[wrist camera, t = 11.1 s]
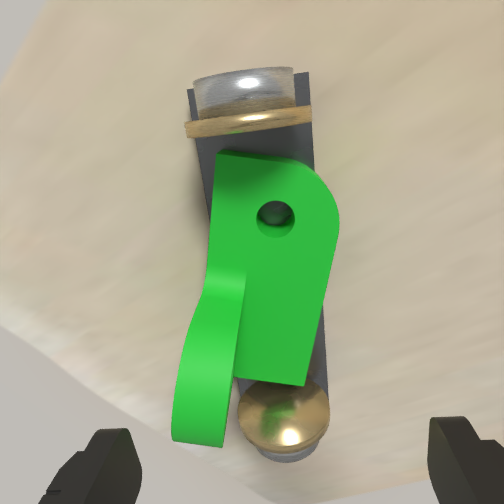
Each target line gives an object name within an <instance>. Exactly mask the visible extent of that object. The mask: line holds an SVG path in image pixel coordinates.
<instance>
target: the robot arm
mask: <svg viewBox="0 0 504 504" xmlns="http://www.w3.org/2000/svg"><path fill="white" fill-rule="evenodd" d="M427 462H428V470H429V475H430V479H431V483H432V486H433V489H434V491H435V493H436V496H437V499H438V501H439V503H440V504H504V447H502V446H501V445H500V444H499V443H498V442H497V441H495V440H480V438H479V437H478V435H477V434H476V432H475V430H474V429H473V427H472V425H471V424H470V422H469V421H468V420H467V418H465V417H464V416H456V417H432V418H431V419H430V425H429V441H428V457H427ZM141 481H142V468H141V464H140V461H139V458H138V455H137V452H136V449H135V446H134V443H133V440H132V438H131V435H130V432H129V430H128V429H126V428H118V429H100V430H98V431H97V432H95V434H94V435H93V437H92V438H91V440H90V442H89V444H88V446H87V447H86V449H85V451H77V452H76V454H74V455H73V456H72V457H71V458H70V459H69V460H68V461H67V462H66V463H65V464H64V465H63V466H62V467H61V468H60V469H59V471H58V473H57V474H56V476H55V477H54V479H53V481H52V482H51V484H50V485H49V487H48V489H47V490H46V494H45V495H43V497H42V498H41V500H40V502H39V503H38V504H135V502H136V499H137V496H138V494H139V491H140V487H141Z"/></svg>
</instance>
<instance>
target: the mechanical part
mask: <svg viewBox="0 0 504 504" xmlns="http://www.w3.org/2000/svg"><path fill="white" fill-rule="evenodd" d="M270 201H282V202H284V203H286V204H288V205H289V206H290V207H291V208H292V210H293V212H292V215H291V217H290V218H289V220H288V221H286V222H285V223H283V224H281V225H269V224H267V223H265V222H264V221H263V220H262V219H261V218H260V216H259V213H258V210H259V209H260V208H261V206H263V205H264V204H265V203H267V202H270ZM338 233H339V213H338V209H337V205H336V202H335V200H334V198H333V196H332V194H331V192H330V191H329V189H328V188H327V186H326V185H325V184H324V182H323V181H322V179H321V178H320V177H319V176H318V175H317V174H316V173H315V172H314V171H313V170H312V169H310V168H309V167H308V166H306V165H304V164H303V163H301V162H298V161H296V160H293V159H289V158H284V157H277V156H270V155H262V154H255V153H247V152H240V151H232V150H225V149H222V150H220V151H219V152H218V153H216V161H215V173H214V185H213V197H212V209H211V222H210V234H209V246H208V258H207V269H206V277H205V282H204V287H203V291H202V295H201V298H200V300H199V303H198V305H197V308H196V310H195V313H194V315H193V318H192V321H191V323H190V326H189V329H188V333H187V336H186V340H185V343H184V347H183V352H182V356H181V361H180V365H179V370H178V376H177V381H176V387H175V394H174V401H173V410H172V422H171V434H172V440H173V441H176V442H183V443H190V444H197V445H205V446H212V447H219V448H222V447H223V442H224V435H225V429H226V423H227V416H228V409H229V403H230V396H231V389H232V383H233V377H238V378H246V379H253V380H260V381H267V382H275V383H282V384H289V385H296V386H304V384H305V380H306V375H307V371H308V367H309V362H310V358H311V353H312V349H313V345H314V340H315V336H316V331H317V327H318V322H319V318H320V314H321V309H322V305H323V300H324V296H325V292H326V287H327V283H328V278H329V274H330V269H331V265H332V261H333V256H334V252H335V247H336V243H337V239H338Z"/></svg>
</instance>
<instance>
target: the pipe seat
mask: <svg viewBox="0 0 504 504" xmlns="http://www.w3.org/2000/svg"><path fill="white" fill-rule="evenodd" d="M193 87H194V89H187V93H188V99H189V105H190V110H191V116H192V121H189V122H184V124H185V129H186V135H187V138H195V139H196V144H197V150H198V156H199V162H200V167H201V173H202V179H203V184H204V190H205V196H206V201H207V207H208V213H209V219H210V222H211V209H212V197H213V185H214V173H215V161H216V153H218V152H219V151H220V150H222V149H225V150H232V151H240V152H247V153H255V154H262V155H270V156H277V157H284V158H289V159H293V160H296V161H298V162H301V163H303V164H304V165H306V166H308V167H309V168H310V169H312V170H313V171H314V172H315V170H314V153H313V137H312V111H311V104H310V88H309V72H304V73H297V74H293V68H292V67H267V68H256V69H248V70H240V71H234V72H228V73H222V74H217V75H212V76H208V77H204V78H201V79H198V80H195V81H193ZM292 212H293V210H292V208H291V207H290V206H289V205H288V204H286V203H284V202H282V201H270V202H267V203H265V204H264V205H263V206H261V208H260V209H259V210H258V213H259V216H260V218H261V219H262V220H263V221H264V222H265V223H267V224H269V225H281V224H283V223H285V222H286V221H288V220H289V218H290V217H291V215H292ZM237 378H238V377H237ZM238 384H239V389H240V395H241V399H240V401H239V405H238V418H239V423H240V427H241V430H242V432H243V434H244V436H245V437H246V438H247V440H248V441H249V442H250V443H252V444H253V445H254V446H256V448H257V449H258V451H259V452H260V453H261V454H262V455H264V456H265V457H267V458H268V459H271V460H273V461H276V462H282V463H289V462H295V461H299V460H301V459H303V458H305V457H307V456H308V455H310V454H311V453H312V452H313V451H314V450H315V449H316V447H317V445H318V443H319V440H320V439H321V438H322V436H323V435H324V434H325V432H326V431H327V428H328V426H329V422H330V407H329V398H328V381H327V365H326V349H325V333H324V316H323V305H322V309H321V314H320V318H319V322H318V327H317V331H316V336H315V340H314V345H313V349H312V353H311V358H310V362H309V367H308V371H307V375H306V380H305V384H304V386H296V385H289V384H282V383H275V382H267V381H260V380H253V379H246V378H238Z"/></svg>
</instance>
